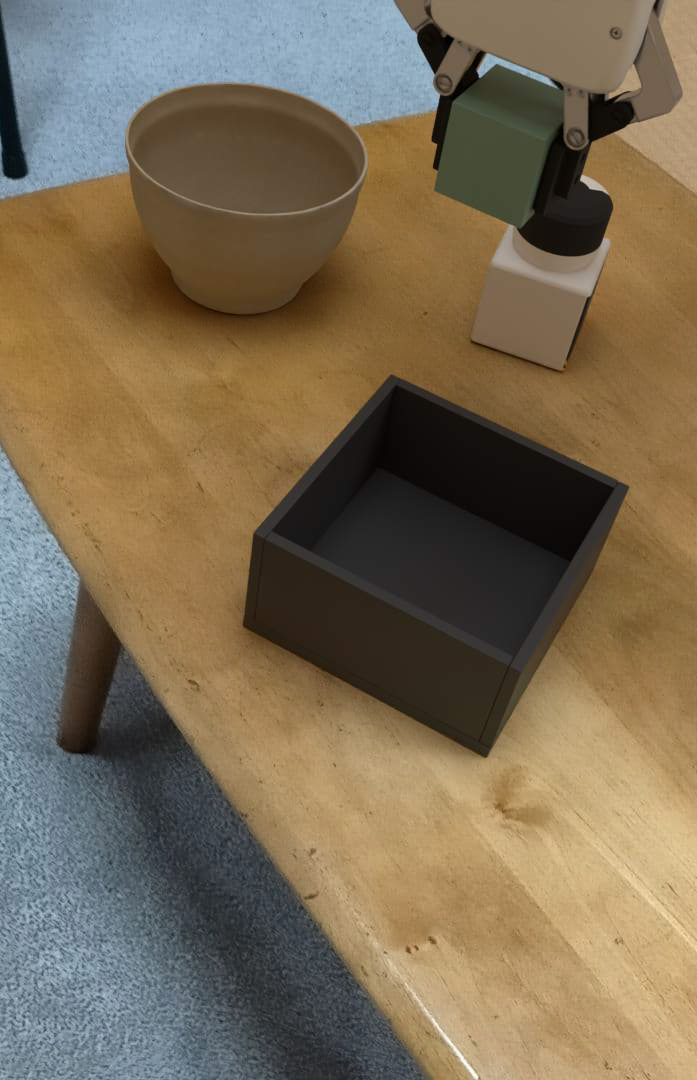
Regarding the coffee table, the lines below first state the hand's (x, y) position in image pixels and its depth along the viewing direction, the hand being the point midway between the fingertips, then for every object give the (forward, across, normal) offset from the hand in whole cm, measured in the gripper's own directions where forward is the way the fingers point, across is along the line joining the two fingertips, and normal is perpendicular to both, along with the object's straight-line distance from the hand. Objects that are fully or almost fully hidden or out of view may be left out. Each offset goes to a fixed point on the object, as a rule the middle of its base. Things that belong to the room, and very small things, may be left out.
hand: (500, 178), depth 64 cm
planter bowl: (+22, +20, -9) cm, 31 cm away
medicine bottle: (+22, 0, -17) cm, 28 cm away
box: (+1, 0, 0) cm, 1 cm away
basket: (+22, -5, +10) cm, 24 cm away
